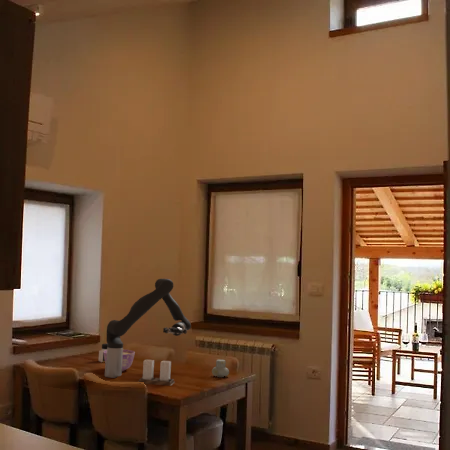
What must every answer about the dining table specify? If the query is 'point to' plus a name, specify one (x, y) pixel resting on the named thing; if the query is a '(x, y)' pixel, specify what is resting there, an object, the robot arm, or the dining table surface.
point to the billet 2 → (165, 371)
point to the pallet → (157, 381)
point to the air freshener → (220, 369)
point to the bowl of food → (124, 358)
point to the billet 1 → (148, 370)
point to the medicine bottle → (101, 354)
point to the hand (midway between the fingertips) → (173, 331)
